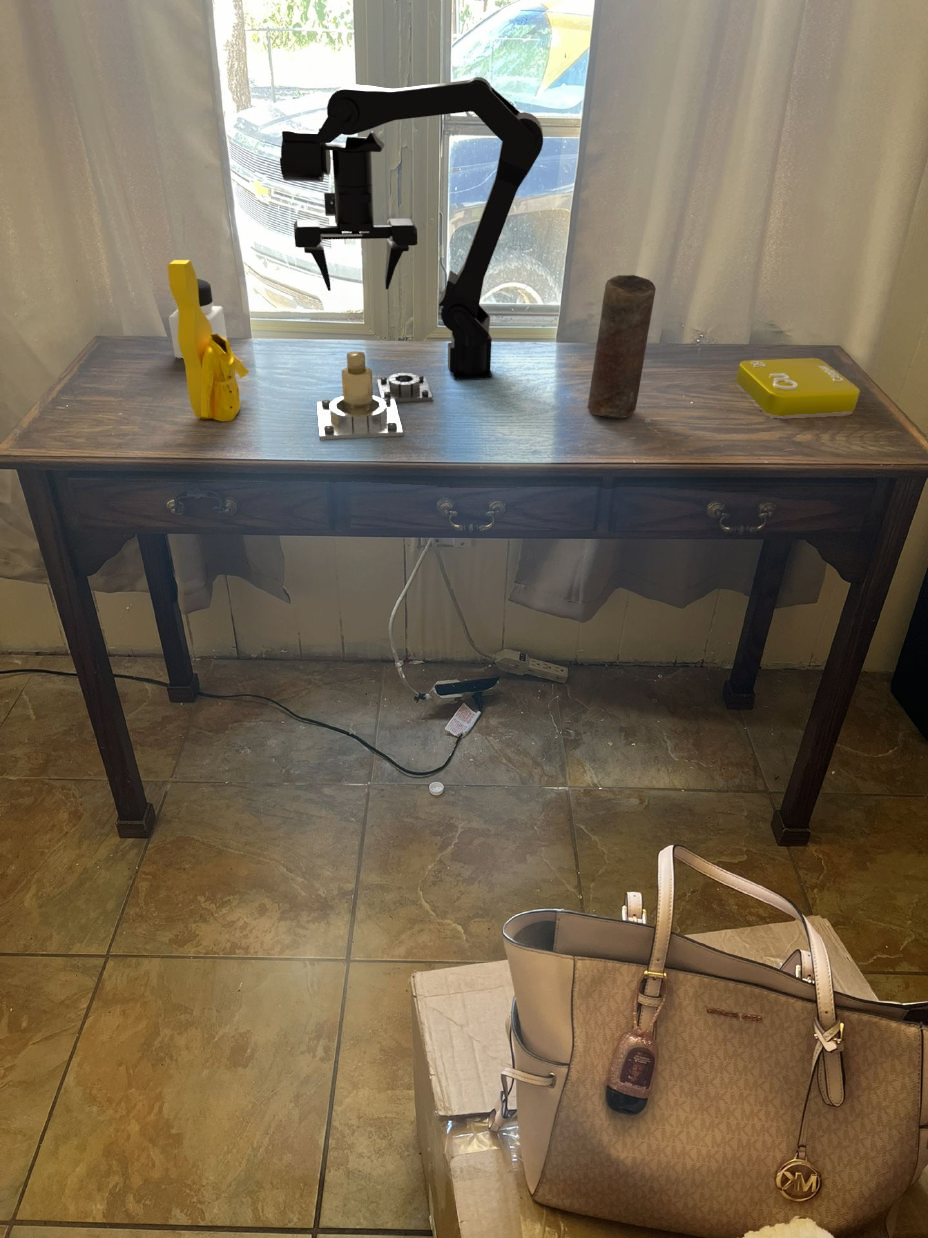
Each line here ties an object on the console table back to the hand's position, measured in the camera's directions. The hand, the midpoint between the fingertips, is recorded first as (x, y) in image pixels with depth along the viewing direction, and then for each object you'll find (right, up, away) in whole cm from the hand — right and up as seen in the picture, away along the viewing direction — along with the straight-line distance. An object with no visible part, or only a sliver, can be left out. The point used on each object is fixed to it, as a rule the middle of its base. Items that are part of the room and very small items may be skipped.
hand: (358, 289), depth 142 cm
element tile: (+70, -18, +2) cm, 73 cm away
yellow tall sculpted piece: (-20, -22, -8) cm, 31 cm away
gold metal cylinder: (+1, -23, -9) cm, 24 cm away
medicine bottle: (-29, -7, +12) cm, 32 cm away
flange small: (+7, -17, 0) cm, 18 cm away
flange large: (+1, -23, -9) cm, 25 cm away
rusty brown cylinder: (+40, -21, -5) cm, 46 cm away
